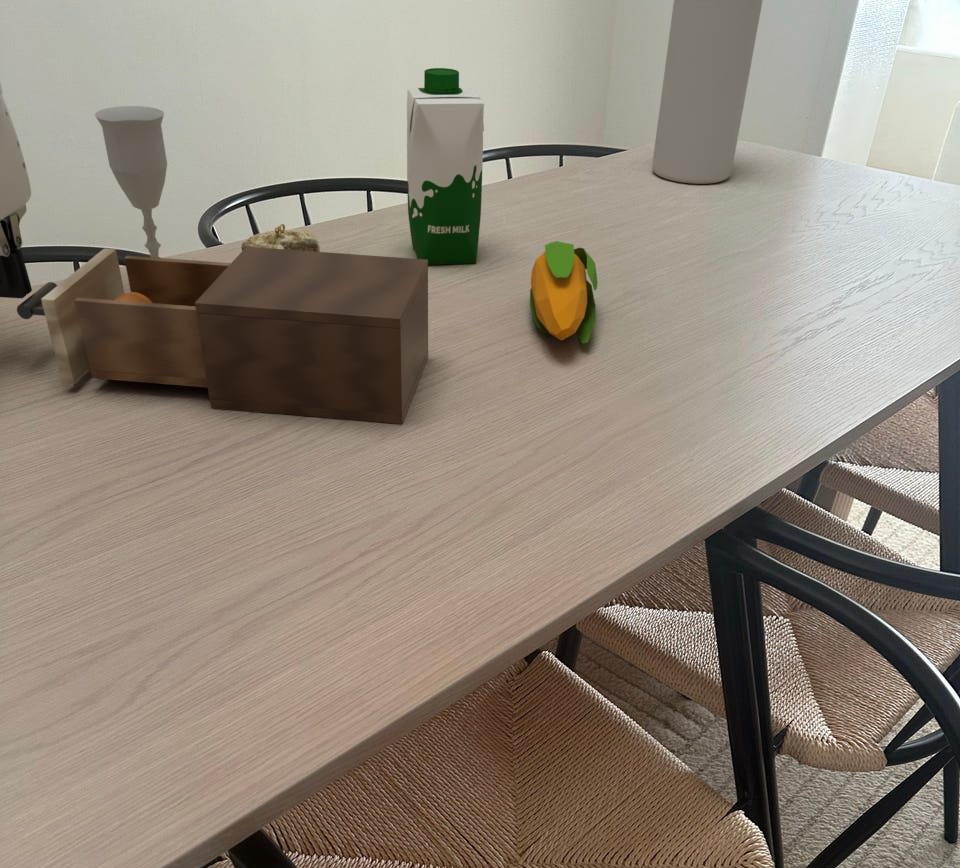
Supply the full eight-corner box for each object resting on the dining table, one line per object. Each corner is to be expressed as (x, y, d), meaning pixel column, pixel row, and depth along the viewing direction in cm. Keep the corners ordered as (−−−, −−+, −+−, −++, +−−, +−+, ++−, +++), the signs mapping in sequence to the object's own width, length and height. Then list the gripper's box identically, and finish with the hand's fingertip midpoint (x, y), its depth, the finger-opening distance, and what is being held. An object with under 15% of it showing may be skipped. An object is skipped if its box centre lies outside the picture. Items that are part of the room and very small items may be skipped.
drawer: (11, 379, 92) (-14, 294, 87) (74, 322, 102) (56, 244, 97) (237, 397, 90) (225, 313, 85) (277, 338, 100) (269, 260, 95)
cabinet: (210, 408, 90) (194, 302, 84) (257, 343, 102) (246, 246, 95) (402, 424, 89) (400, 318, 83) (428, 357, 100) (428, 259, 94)
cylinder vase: (635, 171, 157) (658, -16, 141) (684, 159, 164) (711, -21, 148) (698, 190, 150) (729, -5, 134) (746, 176, 157) (781, -11, 141)
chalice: (201, 293, 112) (174, 118, 100) (142, 305, 109) (108, 125, 97) (177, 273, 116) (149, 103, 105) (120, 284, 113) (85, 109, 102)
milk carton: (470, 242, 128) (475, 67, 116) (485, 266, 122) (491, 83, 109) (403, 244, 127) (400, 67, 114) (414, 269, 120) (412, 83, 107)
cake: (226, 279, 117) (217, 231, 114) (274, 256, 124) (267, 210, 121) (296, 287, 113) (288, 239, 110) (342, 263, 120) (336, 216, 117)
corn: (595, 225, 110) (607, 290, 95) (592, 293, 115) (604, 365, 100) (528, 227, 111) (530, 292, 95) (529, 294, 116) (530, 367, 100)
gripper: (-47, 57, 88) (12, 265, 100) (-148, 92, 76) (-68, 322, 88) (34, 60, 87) (84, 269, 99) (-56, 96, 76) (13, 327, 88)
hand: (12, 294), depth 94 cm, fingers closed
